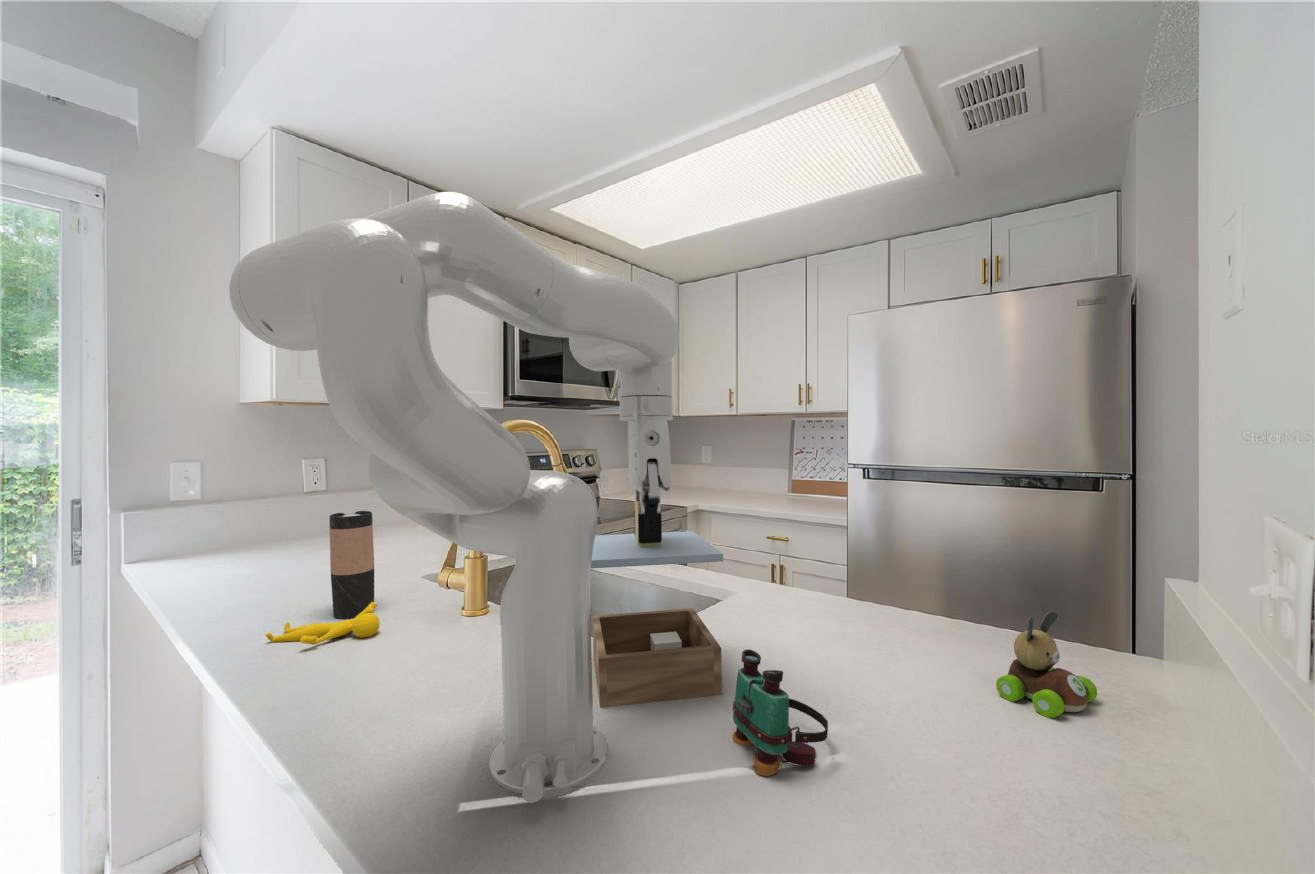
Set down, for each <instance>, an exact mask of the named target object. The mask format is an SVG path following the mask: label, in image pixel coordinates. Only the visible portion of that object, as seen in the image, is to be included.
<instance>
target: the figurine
mask: <svg viewBox="0 0 1315 874" xmlns="http://www.w3.org/2000/svg"><path fill="white" fill-rule="evenodd" d="M376 608H377V603H376V602H375V601H374V602H371V603H370V604H369V605H368V606H367V607H366V608H365V609H364V610H363V611H362V612H361V613H360V614H358V615H357V616H356V617H355V618H352V619H344V620H340V621H338V622H337V621H336V622H335V621H334V622H316V623H311V624H305V625H300V626H295V627H292V628H291V623H290V621H289V622H285V624H284V627H283V628H284V629H283V631H284V633H282V634H280V635H277V636H274V635H273V634H272V632H267V633H266V634H265V636H266V638H267V639H268V641H270V642H272V643H273V642H274V643H287V641H292V642H300V643H301V644H306V645H307V644H308V645H313V646H314V645H317V644H320V643H323V642H325V641H327V640H332V639H336V638H339V637H342V636H345V635H348V634H349V633H351V632H352V633H353V634H354V636H355V637H356V638H359V637H360V639H365V638H364V637H368V638H370V637H372V636H375V634H377V633H378V631H379V629H380V624H381V621H380V619H379V617H378V615H376V614H375V613H374V611H375V609H376ZM317 638H318V639H317ZM285 641H286V642H285Z"/></svg>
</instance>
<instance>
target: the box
mask: <svg viewBox="0 0 1315 874" xmlns="http://www.w3.org/2000/svg"><path fill="white" fill-rule="evenodd" d="M591 618H592V619H591V623H592V654H593V656H592V657H593V664H594V672H595V679H596V686H597V696H598V702H599V708H608V707H609V708H610V707H619V706H629V705H638V704H647V703H649V704H650V703H657V702H667V701H676V700H684V699H685V700H686V699H695V698H704V697H713V696H722V695H723V679H722V678H723V676H722V673H723V672H722V669H723V668H722V647H721V646H720V644H719V643H718V641H717V639H715V637H714V636H713V634H712V633H711V631H710V630H709V629H708V628H707V625H706V624H705V623H704V622H703V620H702V619H701V617H700V616H699V615H698V613H697V611H696V610H695V609H694V608H692V607H691V608H690V607H689V608H679V609H677V608H676V609H665V610H663V609H662V610H652V611H651V610H650V611H639V612H626V613H615V614H612V613H611V614H603V615H602V614H601V615H600V614H599V615H591ZM666 632H677V634H678V636H679V638H680V640H681V641H682V648H676V649H665V650H654V651H651V644H650V634H654V633H666Z"/></svg>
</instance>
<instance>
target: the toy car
mask: <svg viewBox="0 0 1315 874" xmlns="http://www.w3.org/2000/svg"><path fill="white" fill-rule="evenodd" d="M1057 618H1058V612H1056V611H1049V612H1047V613H1046V614H1045V615H1044V617H1043V619H1042V620H1041V622H1040V624H1039V629H1034V620H1033V618H1032V617H1031V616H1029V617H1028V618H1027V622H1026V630H1025V631H1022V632H1021V633H1019V634H1018V635H1017V636H1016V638H1015V640H1014V643H1013V651H1014V654H1015V657H1016V658H1015V659H1014V660H1013V661H1012V663H1011V664H1010V666H1009V670H1008V672H1007V674H1006V675H1002V676H1000V677H999V678H997V679H996V682H995V686H996V690H997V692H998V694H999V695H1000V696H1001V698H1003V699H1004V700H1006V701H1009V702H1016V701H1020V700H1021V699H1023V698H1025V697H1026V698H1027V699H1030V700H1031V701H1032V705H1033V707H1034V709H1035V710H1036V711H1037V712H1038V713H1039V714H1040V715H1041V716H1043V717H1045V718H1048V719H1055V718H1057V717H1059V716H1061V715H1063V713H1065V712H1066V713H1077V712H1081V711H1084V710H1085V708H1086V707H1087V705H1088V703H1090V702H1092V701H1094V700H1095V699H1096V698H1097V695H1098V689H1097V687H1096V685H1095V683H1094V682H1093V681H1092V680H1091V679H1089V678H1088V677H1086V676H1082V675H1075V674H1074V673H1072V672H1071V671H1068V670H1066V669H1064V668H1060V667H1056V668H1055V667H1053V666H1055V665H1056V664H1058V662H1059V661H1060V657H1061V656H1060V652H1059V649H1058V647H1057V644H1056V642H1055V639H1054V638H1053V637H1052V636H1051V635H1050V634H1049V633H1048V632H1049V630H1050V628H1051V627H1052V625H1053V624H1055V622H1056V621H1057Z"/></svg>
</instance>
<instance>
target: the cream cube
mask: <svg viewBox="0 0 1315 874" xmlns="http://www.w3.org/2000/svg"><path fill="white" fill-rule="evenodd" d="M650 644H651V651H654V650H665V649H676V648H682V641H681V640H680V638H679V636H678V634H677V632H666V633H654V634H650Z"/></svg>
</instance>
